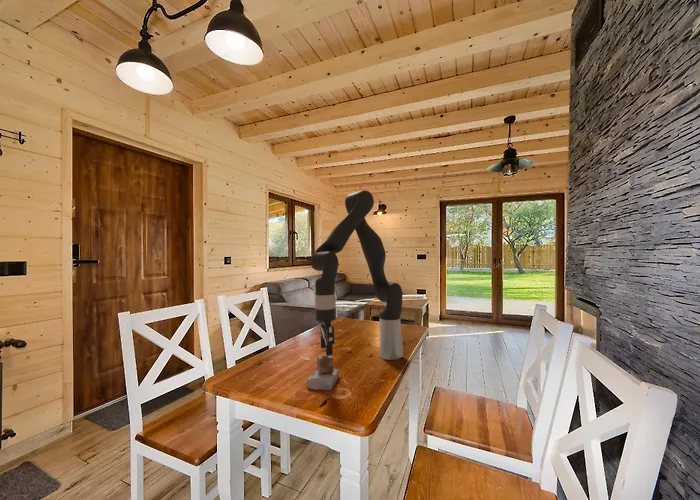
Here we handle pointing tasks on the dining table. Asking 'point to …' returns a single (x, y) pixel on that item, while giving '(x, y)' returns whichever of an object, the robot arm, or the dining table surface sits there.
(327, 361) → the walnut cube
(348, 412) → the dining table surface
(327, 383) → the stone block
